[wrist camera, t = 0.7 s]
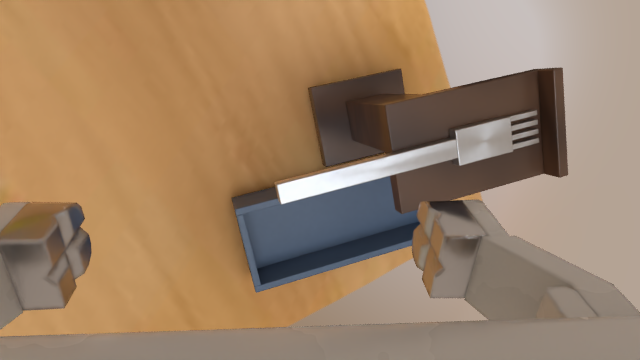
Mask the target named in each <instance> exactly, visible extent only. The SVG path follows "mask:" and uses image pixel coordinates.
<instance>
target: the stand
mask: <svg viewBox="0 0 640 360" xmlns="http://www.w3.org/2000/svg"><path fill="white" fill-rule="evenodd" d="M308 90H309V95H310V100H311V105H312V110H313V115H314V120H315V125H316V131H317V136H318V141H319V146H320V151H321V156H322V161H323V165H324V166H326V167H328V166H332V165H336V164H340V163H344V162H348V161H352V160H356V159H360V158H364V157H368V156H372V155H376V154H380V153H384V152H386V154H387V153H391V152H395V151H399V150H403V149H407V148H411V147H415V146H419V145H423V144H426V143H430V142H434V141H438V140H442V139H446V138H450V135H449V129H453V128H457V127H461V126H465V125H469V124H473V123H477V122H481V121H485V120H489V119H493V118H497V117H501V116H508V115H512V114H516V113H520V112H524V111H528V110H537V115H536V116H532V117H528V118H524V119H520V120H516V121H512V122H511V124H513V123H517V122H521V121H525V120H529V119H538V124H537V125H533V126H530V127H526V128H522V129H518V130H514V131H512V133H515V132H519V131H523V130H527V129H530V128H538V131H539V133H538V134H535V135H531V136H527V137H524V138H520V139H516V140H512V142H516V141H520V140H524V139H527V138H531V137H537V138H539V143H536V144H532V145H529V146H525V147H521V148H517V149H514V150H513V152H509V153H506V154H502V155H498V156H494V157H491V158H487V159H483V160H480V161H476V162H472V163H468V164H465V165H461V166H458V165H455V164H453V160H448V161H445V162H441V163H437V164H433V165H429V166H426V167H422V168H418V169H414V170H411V171H407V172H403V173H399V174H395V175H392V176H390V180H391V186H392V192H393V199H394V205H395V210H396V211H398V212H399V213H401V214H404V213H408V212H411V211H415V210H418V206H419V204H420V202H424V201H450V200H453V199H457V198H460V197H464V196H467V195H471V194H474V193H478V192H481V191H485V190H488V189H492V188H495V187H499V186H502V185H506V184H509V183H512V182H516V181H519V180H523V179H527V178H530V177H533V176H537V175H540V174H548V175H552V176H556V177H563V176H567V175H568V165H567V146H566V126H565V107H564V87H563V68H547V69H533V70H529V71H524V72H520V73H515V74H511V75H506V76H502V77H498V78H493V79H489V80H485V81H480V82H475V83H471V84H467V85H462V86H458V87H453V88H449V89H444V90H440V91H436V92H431V93H427V94H422V95H417V94H405V93H404V86H403V79H402V72H401V69H395V70H391V71H386V72H381V73H376V74H372V75H367V76H362V77H357V78H353V79H348V80H343V81H338V82H334V83H329V84H324V85H319V86H315V87H310V88H308Z"/></svg>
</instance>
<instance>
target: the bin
mask: <svg viewBox="0 0 640 360" xmlns="http://www.w3.org/2000/svg"><path fill="white" fill-rule="evenodd" d="M232 202H233V206H234V210H235V213H236V217H237V221H238V225H239V229H240V233H241V237H242V241H243V245H244V249H245V252H246V256H247V260H248V264H249V268H250V272H251V276H252V280H253V283H254V287H255V291H256V292H260V291H263V290H267V289H270V288H273V287H277V286H280V285H283V284H286V283H290V282H293V281H296V280H300V279H303V278H306V277H309V276H313V275H316V274H319V273H323V272H326V271H329V270H333V269H336V268H339V267H342V266H346V265H349V264H352V263H356V262H359V261H362V260H366V259H369V258H372V257H375V256H379V255H382V254H385V253H389V252H392V251H395V250H398V249H402V248H405V247H408V246H412V238H413V231H414V230H415V229H416V228H417V227H418V226H419V225H420V222H419V220H418V218H417V216H416V215H417V210H415V211H411V212H408V213H404V214H401V213H399V212H398V211H396V210H395V205H394V199H393V192H392V186H391V180H390V176H388V177H384V178H380V179H377V180H373V181H369V182H365V183H361V184H358V185H354V186H350V187H346V188H342V189H339V190H335V191H331V192H327V193H324V194H320V195H316V196H312V197H308V198H305V199H301V200H297V201H293V202H290V203H286V204H282V205H281V204H280V202H279V201H278V196H277V192H276V187H272V188H269V189H265V190H261V191H257V192H253V193H249V194H245V195H241V196H237V197H233V198H232Z"/></svg>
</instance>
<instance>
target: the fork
mask: <svg viewBox="0 0 640 360" xmlns="http://www.w3.org/2000/svg"><path fill="white" fill-rule="evenodd" d="M536 115H537V110H528V111H524V112H520V113H516V114H512V115H508V116H501V117H497V118H493V119H489V120H485V121H481V122H477V123H473V124H469V125H465V126H461V127H457V128H453V129H449V135H450V138H446V139H442V140H438V141H434V142H430V143H426V144H423V145H419V146H415V147H411V148H407V149H403V150H399V151H395V152H391V153H387V154H383V155H379V156H375V157H371V158H367V159H363V160H359V161H355V162H351V163H347V164H343V165H339V166H335V167H331V168H327V169H323V170H320V171H316V172H312V173H308V174H304V175H300V176H296V177H292V178H288V179H284V180H280V181H276V182H275V187H276V192H277V196H278V201H279V202H280V204H281V205H282V204H286V203H290V202H293V201H297V200H301V199H305V198H308V197H312V196H316V195H320V194H324V193H327V192H331V191H335V190H339V189H342V188H346V187H350V186H354V185H358V184H361V183H365V182H369V181H373V180H377V179H380V178H384V177H388V176H392V175H395V174H399V173H403V172H407V171H411V170H414V169H418V168H422V167H426V166H429V165H433V164H437V163H441V162H445V161H448V160H453V164H455V165H458V166H461V165H465V164H468V163H472V162H476V161H480V160H483V159H487V158H491V157H494V156H498V155H502V154H506V153H509V152H513V150H514V149H517V148H521V147H525V146H529V145H532V144H536V143H539V138H537V137H531V138H527V139H524V140H520V141H516V142H512V140H516V139H520V138H524V137H527V136H531V135H535V134H538V133H539V131H538V128H530V129H527V130H523V131H519V132H515V133H512V131H514V130H518V129H522V128H526V127H530V126H533V125H537V124H538V119H529V120H525V121H521V122H517V123H513V124H511V122H512V121H516V120H520V119H524V118H528V117H532V116H536Z"/></svg>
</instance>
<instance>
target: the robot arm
mask: <svg viewBox="0 0 640 360" xmlns="http://www.w3.org/2000/svg"><path fill="white" fill-rule="evenodd" d="M416 216H417V218H418V220H419V222H420V225H419V226H418V227H417V228H416V229H415V230H414V231H413V238H412V253H413V258H414V261H415V264H416V266H417V267H418V268H419V269H421V270H422V271H423V276H422V280H423V283H424V285H425V287H426V289H427V292H428V294H429V296H430V298H465V300H466V301H467V302H468V303H469V304H470V305H472V306H473V307H474V308H475V309H476V310H477V311H479V312H480V313H481V314H482V315H483V316H484V317H486V318H487V319H488V320H484V321H454V322H427V323H426V322H424V323H396V324H367V325H366V324H365V325H338V326H337V325H336V326H310V327H309V326H307V327H276V328H246V329H217V330H187V331H157V332H127V333H97V334H67V335H37V336H7V337H0V360H640V312H639V311H638V310H637V309H636V308H635V307H634V306H633V305H632V303H631V302H630V301H629V300H628V299H627V298H626V297H625V296H624V295H623V294H622V293H621V292H620V291H619V290H618V289H617V288H616V287H615V286H614V285H613V284H612V283H609V282H608V281H606V280H603V279H601V278H599V277H597V276H595V275H593V274H591V273H589V272H587V271H585V270H583V269H581V268H579V267H577V266H575V265H573V264H571V263H569V262H567V261H565V260H563V259H561V258H559V257H557V256H555V255H553V254H551V253H549V252H547V251H545V250H543V249H541V248H539V247H537V246H535V245H533V244H531V243H529V242H527V241H525V240H523V239H521V238H519V237H517V236H509V235H508V233H507V232H506V231H505V229H504V228H503V227H502V226H501V224H500V223H499V222H498V221H497V219H496V218H495V217H494V215H493V214H492V213H491V212H490V210H489V209H488V208H487V207H486V205H485V204H484V203H483V202H482V201H480V200H457V201H424V202H420V204H419V206H418V210H417V215H416ZM84 219H85V218H84V214H83V211H82V208H81V206H80V205H79V204H77V203H56V202H32V203H31V202H9V203H3V204H2V205H1V206H0V329H2V328H3V327H4V326H6V325H7V324H8V323H10V322H11V321H12V320H14V319H15V318H16V317H18V316H19V315H20V314H22V313H23V311H24V310H42V309H61V308H65V306H66V304H67V303H68V301H69V299H70V298H71V296H72V294H73V292H74V291H75V289H76V283H75V279H76V278H78V277H79V276H81V275H83V274H84V273H85V271H86V269H87V267H88V265H89V262H90V257H91V242H90V237H89V234H88V233H87V232H85V231H84V230H83V229H82V228H81V227H80V226H81V224H82V222H83V221H84Z"/></svg>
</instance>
